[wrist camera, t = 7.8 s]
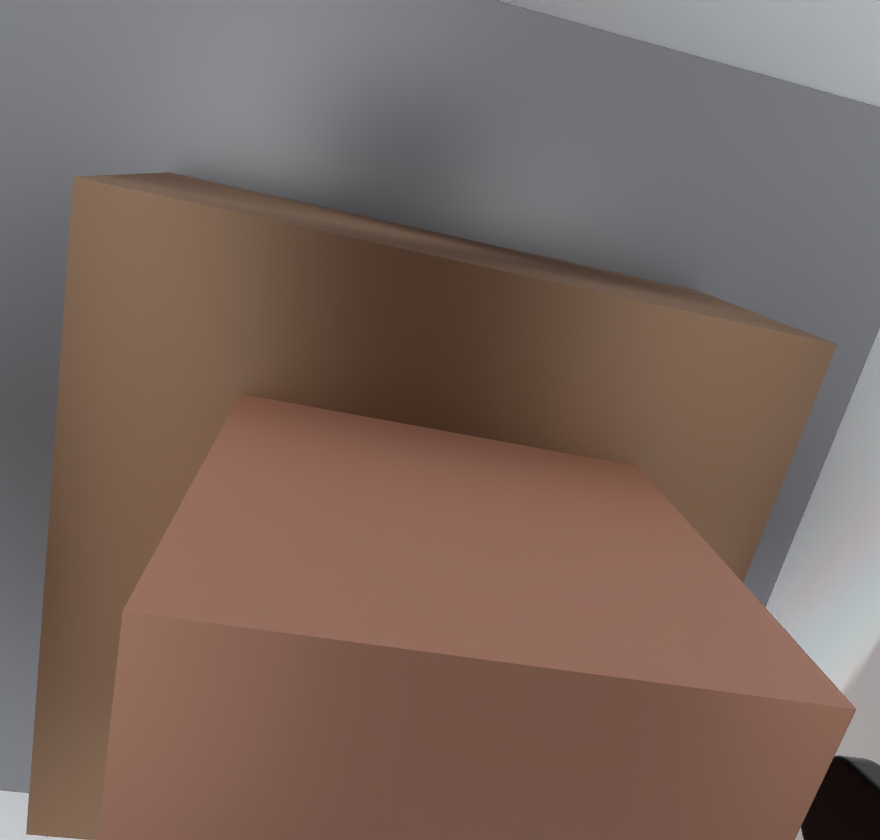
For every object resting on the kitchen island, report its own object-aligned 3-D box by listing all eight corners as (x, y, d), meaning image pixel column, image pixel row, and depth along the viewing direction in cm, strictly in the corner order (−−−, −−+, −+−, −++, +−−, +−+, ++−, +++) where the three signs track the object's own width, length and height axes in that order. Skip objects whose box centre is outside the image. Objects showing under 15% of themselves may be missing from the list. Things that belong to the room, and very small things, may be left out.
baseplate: (918, 132, 13) (959, 129, 13) (649, 817, 18) (664, 853, 17) (-34, -130, 11) (-72, -158, 10) (-58, 744, 16) (-84, 782, 15)
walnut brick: (700, 291, 13) (837, 343, 9) (562, 712, 16) (624, 885, 12) (168, 172, 12) (72, 176, 8) (116, 657, 14) (26, 833, 10)
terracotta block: (638, 466, 10) (855, 709, 5) (536, 775, 11) (644, 1158, 7) (240, 393, 9) (122, 611, 4) (189, 737, 10) (63, 1145, 6)
